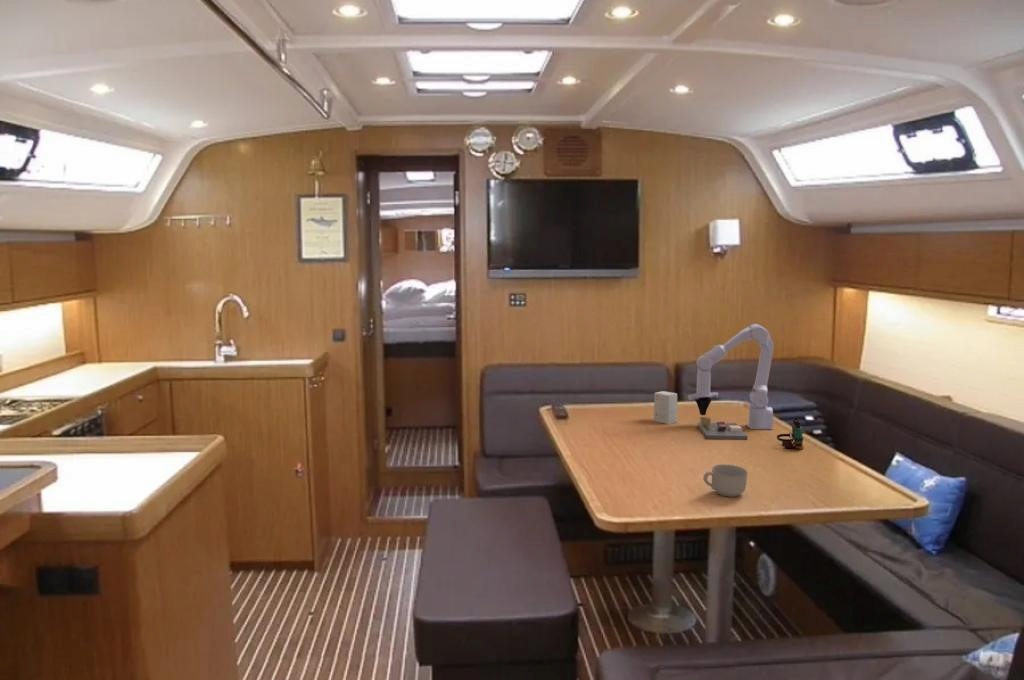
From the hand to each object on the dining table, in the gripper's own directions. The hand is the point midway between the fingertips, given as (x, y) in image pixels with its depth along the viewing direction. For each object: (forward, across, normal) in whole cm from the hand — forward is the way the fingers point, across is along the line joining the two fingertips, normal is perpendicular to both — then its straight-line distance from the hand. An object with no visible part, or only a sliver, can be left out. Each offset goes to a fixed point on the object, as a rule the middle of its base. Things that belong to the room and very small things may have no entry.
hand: (702, 414), depth 321 cm
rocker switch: (+2, -1, -14) cm, 14 cm away
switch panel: (+5, 0, -13) cm, 14 cm away
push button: (+4, +4, -17) cm, 18 cm away
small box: (+5, -10, +13) cm, 17 cm away
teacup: (+5, -49, -76) cm, 90 cm away
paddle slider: (+3, -3, -5) cm, 7 cm away
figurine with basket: (+5, +10, -41) cm, 43 cm away
